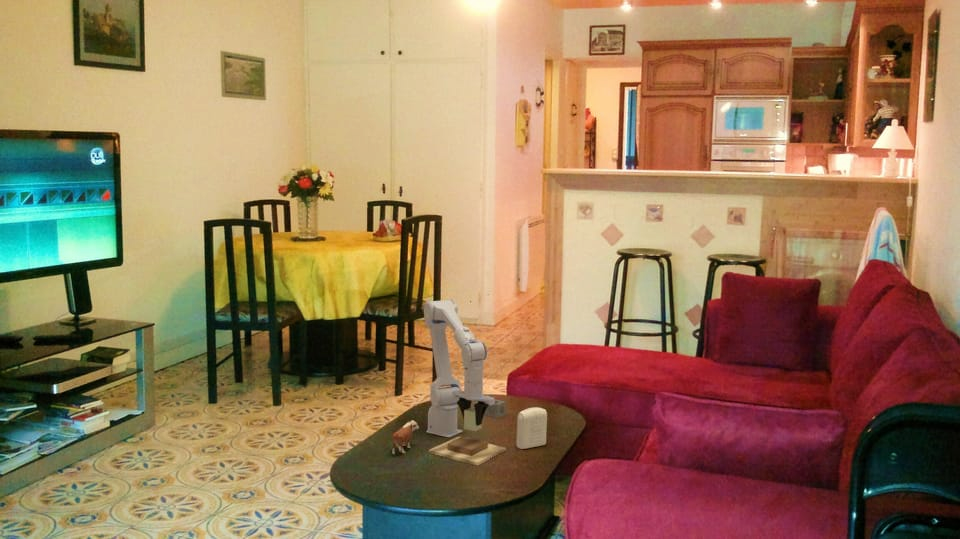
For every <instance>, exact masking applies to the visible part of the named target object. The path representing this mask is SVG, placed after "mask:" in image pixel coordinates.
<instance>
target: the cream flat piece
mask: <svg viewBox="0 0 960 539" xmlns="http://www.w3.org/2000/svg"><path fill="white" fill-rule="evenodd" d="M504 451H505V452H506V451H507V447H504V446H500V445H495V444H491V443H489V441H487V440H482V439H479V438H475V437H474V438H473V437H469V436H466V435H463V436H457V437H454V438H452V439H450V440H447V441H446V442H443V443H442V444H439V445H437V446H434V447H432V448H430V449H429V450H428V454H430V453H431V455H434V454H435V456H438V455H439V457H442V456H443V458H446V457H447V459H451V460H453V461H458V462H462V463H465V464H470V465H474V466H479V465H482V464H483V463H485V462H487V461H489V460H491V459H493V458H494V456H495V457H497V456H499V455H500V454H499V453H501V454H503V453H505V452H504ZM502 452H503V453H502ZM498 454H499V455H498ZM496 455H497V456H496ZM492 457H493V458H492ZM490 458H491V459H490Z"/></svg>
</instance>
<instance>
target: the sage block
mask: <svg viewBox="0 0 960 539" xmlns="http://www.w3.org/2000/svg"><path fill="white" fill-rule="evenodd" d="M482 424H483V423H482ZM482 424H481V425H479V426H477V425H476V412H475V407H470V408H468V409H466V410H464V420H463V429H464V430H467V431H472V432H476V431H479V430H481V429H482V428H483V425H482Z"/></svg>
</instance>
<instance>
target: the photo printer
mask: <svg viewBox="0 0 960 539" xmlns="http://www.w3.org/2000/svg"><path fill="white" fill-rule="evenodd" d="M516 419H517V420H516V441H515V442H516V444H515V445H516V447H517V449H520V450H523V449H530V448H535V447H541V446H545V445H546V444H547V428H548V427H547V424H548V412H547V410H546V409H544V408H542V407H528V408H526V409H523V410H522V411H520V412H519V413H518V414H517V418H516Z"/></svg>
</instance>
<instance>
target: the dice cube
mask: <svg viewBox="0 0 960 539" xmlns="http://www.w3.org/2000/svg"><path fill="white" fill-rule="evenodd" d="M506 406H507V401H505V400H499V399H495V404H493V405H489V406H488V407H487V409H486V411H485V416H486V417H489V416H491V417H490V418H494V417H496V418H495V419H500V418H502V417H504V415H505V416H506V414H507V413H506V412H507V407H506ZM501 416H502V417H501ZM499 417H500V418H499Z"/></svg>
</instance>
